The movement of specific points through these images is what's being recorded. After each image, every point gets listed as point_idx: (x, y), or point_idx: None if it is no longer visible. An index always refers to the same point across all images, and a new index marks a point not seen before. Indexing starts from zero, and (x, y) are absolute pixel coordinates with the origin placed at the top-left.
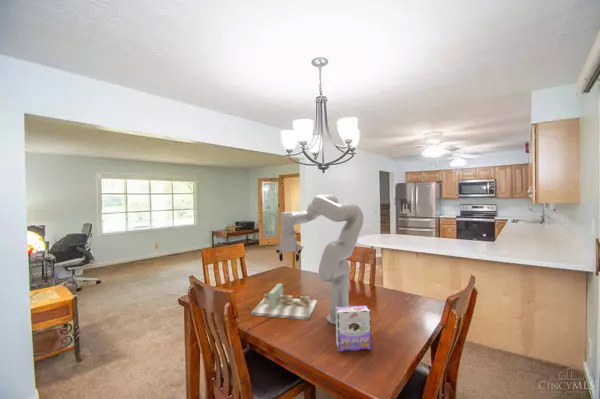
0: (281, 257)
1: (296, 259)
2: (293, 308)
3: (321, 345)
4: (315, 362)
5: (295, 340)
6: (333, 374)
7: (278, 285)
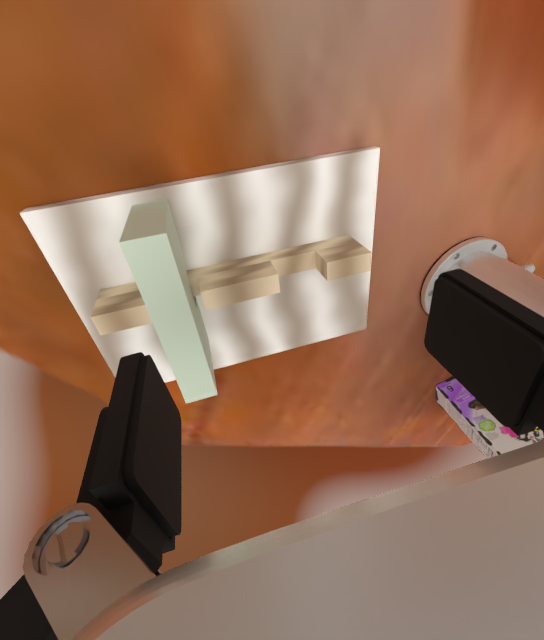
0: (177, 471)
1: (451, 365)
2: (285, 293)
3: (403, 402)
4: (394, 440)
5: (343, 415)
6: (422, 444)
7: (158, 282)
